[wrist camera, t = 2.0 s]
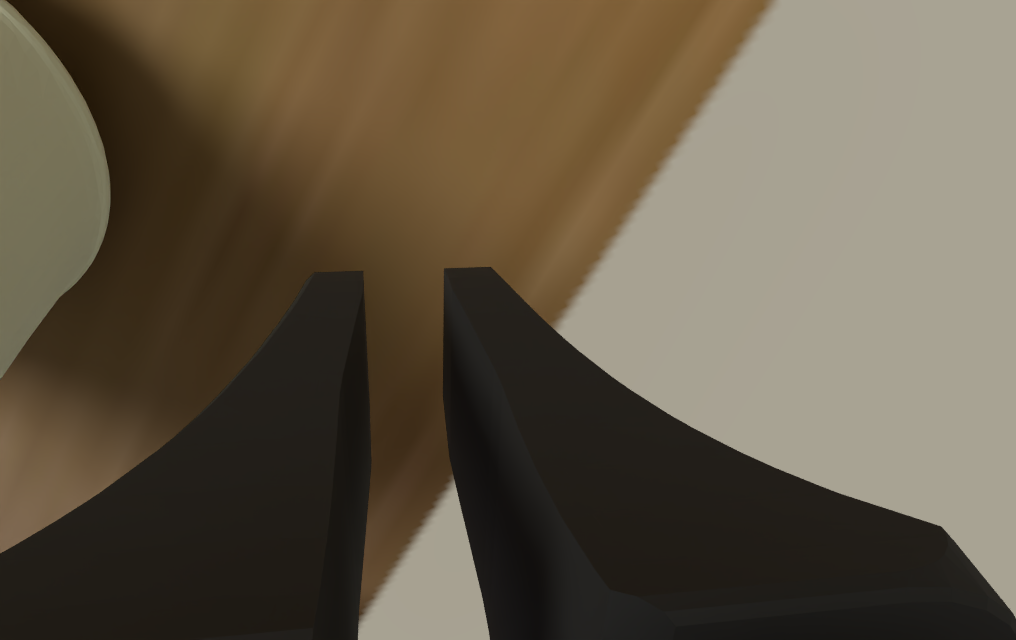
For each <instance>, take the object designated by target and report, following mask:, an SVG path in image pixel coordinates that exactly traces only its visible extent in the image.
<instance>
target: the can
mask: <svg viewBox="0 0 1016 640" xmlns="http://www.w3.org/2000/svg"><path fill="white" fill-rule="evenodd" d="M109 211H110V178H109V169H108V165H107V160H106V156H105V151H104V146H103V143H102V140H101V138H100V135H99V132H98V129H97V126H96V123H95V121H94V119H93V117H92V115H91V112H90V110H89V108H88V106H87V104H86V101H85V100H84V98H83V96H82V95H81V93H80V91H79V89H78V88H77V86H76V84H75V83H74V81H73V79H72V77H71V76H70V74H69V73H68V71H67V70H66V68H65V67H64V66H63V64H62V63H61V61H60V60H59V58H58V57H57V56H56V54H55V53H54V52H53V51H52V49H51V48H50V47H49V46H48V44H47V43H46V42H45V41H44V39H43V38H42V37H41V36H40V35H39V34H38V33H37V32H36V31H35V29H34V28H33V27H32V26H31V25H30V24H29V23H28V22H27V21H26V20H25V19H24V18H23V17H22V15H21V14H20V13H19V12H18V11H17V10H16V9H15V8H14V7H13V6H12V5H11V4H9V3H8V2H7V1H6V0H0V379H1V378H2V377H3V375H4V374H5V372H6V371H7V369H8V368H9V366H10V365H11V364H12V362H13V361H14V359H15V358H16V356H17V355H18V353H19V352H20V350H21V349H22V348H23V346H24V345H25V343H26V342H27V340H28V339H29V338H30V336H31V335H32V334H33V332H34V331H35V330H36V328H37V327H38V326H39V324H40V323H41V321H42V320H43V319H44V317H45V316H46V315H47V313H48V312H49V311H50V309H51V308H52V307H53V305H54V304H55V303H56V301H57V300H58V299H59V297H60V296H62V295H63V294H64V293H65V292H67V291H68V290H69V289H70V288H71V287H72V286H73V285H74V284H76V283H77V281H78V280H79V279H80V278H81V277H82V276H83V275H84V273H85V272H86V271H87V270H88V268H89V267H90V265H91V264H92V262H93V261H94V259H95V257H96V255H97V253H98V251H99V249H100V246H101V244H102V241H103V239H104V235H105V232H106V229H107V225H108V219H109Z"/></svg>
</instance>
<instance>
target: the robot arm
mask: <svg viewBox="0 0 1016 640" xmlns="http://www.w3.org/2000/svg"><path fill="white" fill-rule="evenodd" d="M443 401H444V410H445V420H446V430H447V439H448V448H449V457H450V462H451V466H452V471H453V475H454V480H455V484H456V488H457V492H458V497H459V501H460V505H461V509H462V514H463V518H464V522H465V526H466V530H467V535H468V538H469V543H470V547H471V551H472V555H473V560H474V564H475V568H476V572H477V577H478V581H479V585H480V589H481V593H482V598H483V603H484V607H485V613H486V618H487V623H488V629H489V635H490V640H1016V618H1015V616H1014V614H1013V613H1012V612H1011V610H1010V609H1009V608H1008V607H1007V605H1006V604H1005V603H1004V602H1003V600H1002V599H1001V598H1000V597H999V596H998V594H997V593H996V592H995V591H994V589H993V588H992V587H991V586H990V584H989V583H988V582H987V581H986V580H985V578H984V577H983V576H982V575H981V574H980V572H979V571H978V570H977V569H976V567H975V566H974V565H973V564H972V562H971V561H970V560H969V559H968V558H967V556H966V555H965V554H964V553H963V551H962V550H961V549H960V548H959V546H958V545H957V544H956V543H955V542H954V540H953V539H952V538H951V537H950V536H949V535H948V534H947V533H946V531H945V530H944V529H943V528H942V527H941V526H937V525H935V524H932V523H928V522H926V521H922V520H919V519H916V518H913V517H910V516H907V515H904V514H901V513H898V512H895V511H892V510H888V509H886V508H882V507H879V506H876V505H873V504H870V503H867V502H864V501H861V500H858V499H854V498H852V497H848V496H845V495H842V494H839V493H837V492H834V491H831V490H829V489H826V488H824V487H821V486H819V485H816V484H814V483H811V482H809V481H806V480H804V479H801V478H799V477H796V476H794V475H791V474H789V473H786V472H784V471H781V470H779V469H776V468H774V467H772V466H770V465H767V464H765V463H763V462H761V461H758V460H756V459H754V458H752V457H750V456H747V455H745V454H743V453H741V452H739V451H737V450H735V449H733V448H731V447H729V446H727V445H725V444H723V443H721V442H719V441H717V440H715V439H713V438H711V437H709V436H707V435H705V434H703V433H701V432H700V431H698V430H696V429H694V428H692V427H690V426H688V425H687V424H685V423H683V422H681V421H679V420H678V419H676V418H674V417H672V416H671V415H669V414H667V413H666V412H664V411H663V410H661V409H660V408H658V407H656V406H655V405H653V404H651V403H650V402H649V401H647V400H645V399H644V398H642V397H641V396H639V395H638V394H636V393H634V392H633V391H631V390H630V389H628V388H627V387H626V386H624V385H623V384H621V383H620V382H618V381H617V380H616V379H614V378H612V377H611V376H610V375H609V374H607V373H606V372H605V371H603V370H602V369H601V368H600V367H598V366H597V365H596V364H595V363H593V362H592V361H591V360H589V359H588V358H587V357H586V356H584V355H583V354H582V353H580V352H579V351H578V350H577V349H576V348H574V347H573V346H572V345H571V344H570V343H569V342H568V341H566V340H565V339H564V338H563V337H562V336H561V335H560V334H558V333H557V332H556V331H555V330H554V329H553V328H552V327H551V326H550V325H549V324H547V323H546V322H545V321H544V320H543V319H542V318H541V317H540V316H539V315H538V314H537V313H536V312H535V311H534V310H533V309H532V308H531V307H530V306H529V305H528V304H527V303H526V302H525V301H524V300H523V299H522V298H521V297H520V296H519V295H518V294H517V293H516V292H515V291H514V290H513V289H512V288H511V287H510V286H509V285H508V284H507V283H506V282H505V281H504V280H503V279H502V278H501V277H500V276H499V275H498V274H497V273H496V272H495V271H494V270H493V269H492V268H491V267H475V268H444V338H443ZM370 474H371V436H370V404H369V382H368V362H367V341H366V321H365V300H364V280H363V271H345V272H315V273H314V274H312V275H311V276H310V277H309V278H308V279H307V280H306V282H305V284H304V285H303V287H302V289H301V290H300V292H299V294H298V295H297V297H296V299H295V300H294V302H293V303H292V305H291V306H290V308H289V309H288V311H287V312H286V313H285V315H284V316H283V318H282V319H281V321H280V322H279V323H278V325H277V326H276V327H275V329H274V330H273V331H272V333H271V334H270V335H269V336H268V338H267V339H266V340H265V342H264V343H263V344H262V346H261V347H260V348H259V349H258V351H257V352H256V353H255V354H254V356H253V357H252V358H251V359H250V361H249V362H248V363H247V364H246V365H245V366H244V367H243V368H242V369H241V371H240V372H239V373H238V374H237V375H236V376H235V377H234V378H233V379H232V381H231V382H230V383H229V384H228V385H227V386H226V387H225V388H224V389H223V391H222V392H221V393H220V394H219V395H218V396H217V397H216V398H215V399H214V400H213V401H212V402H211V403H210V404H209V405H208V406H207V407H206V408H205V409H204V410H203V411H202V412H201V413H200V414H199V415H198V416H197V417H196V418H195V419H194V420H193V421H192V422H190V423H189V424H188V425H187V426H186V427H185V428H184V429H183V430H182V431H180V432H179V433H178V434H177V435H176V436H175V437H174V438H173V439H171V440H170V441H169V442H168V443H166V444H165V445H164V446H163V447H162V448H160V449H159V450H158V451H156V452H155V453H154V454H152V455H151V456H149V457H148V458H147V459H145V460H144V461H143V462H141V463H140V464H139V465H137V466H136V467H134V468H133V469H132V470H130V471H129V472H128V473H126V474H125V475H124V476H122V477H121V478H120V479H118V480H117V481H115V482H114V483H113V484H111V485H110V486H109V487H107V488H106V489H105V490H103V491H102V492H100V493H99V494H97V495H96V496H94V497H93V498H91V499H90V500H88V501H87V502H85V503H84V504H82V505H81V506H79V507H77V508H76V509H74V510H73V511H71V512H70V513H68V514H66V515H65V516H63V517H62V518H60V519H59V520H57V521H55V522H54V523H52V524H50V525H49V526H47V527H45V528H44V529H42V530H40V531H38V532H37V533H35V534H33V535H32V536H30V537H28V538H27V539H25V540H23V541H22V542H20V543H18V544H16V545H15V546H13V547H11V548H9V549H8V550H6V551H4V552H2V553H0V640H358V620H359V603H360V592H361V580H362V568H363V557H364V545H365V534H366V522H367V510H368V498H369V486H370Z"/></svg>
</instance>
